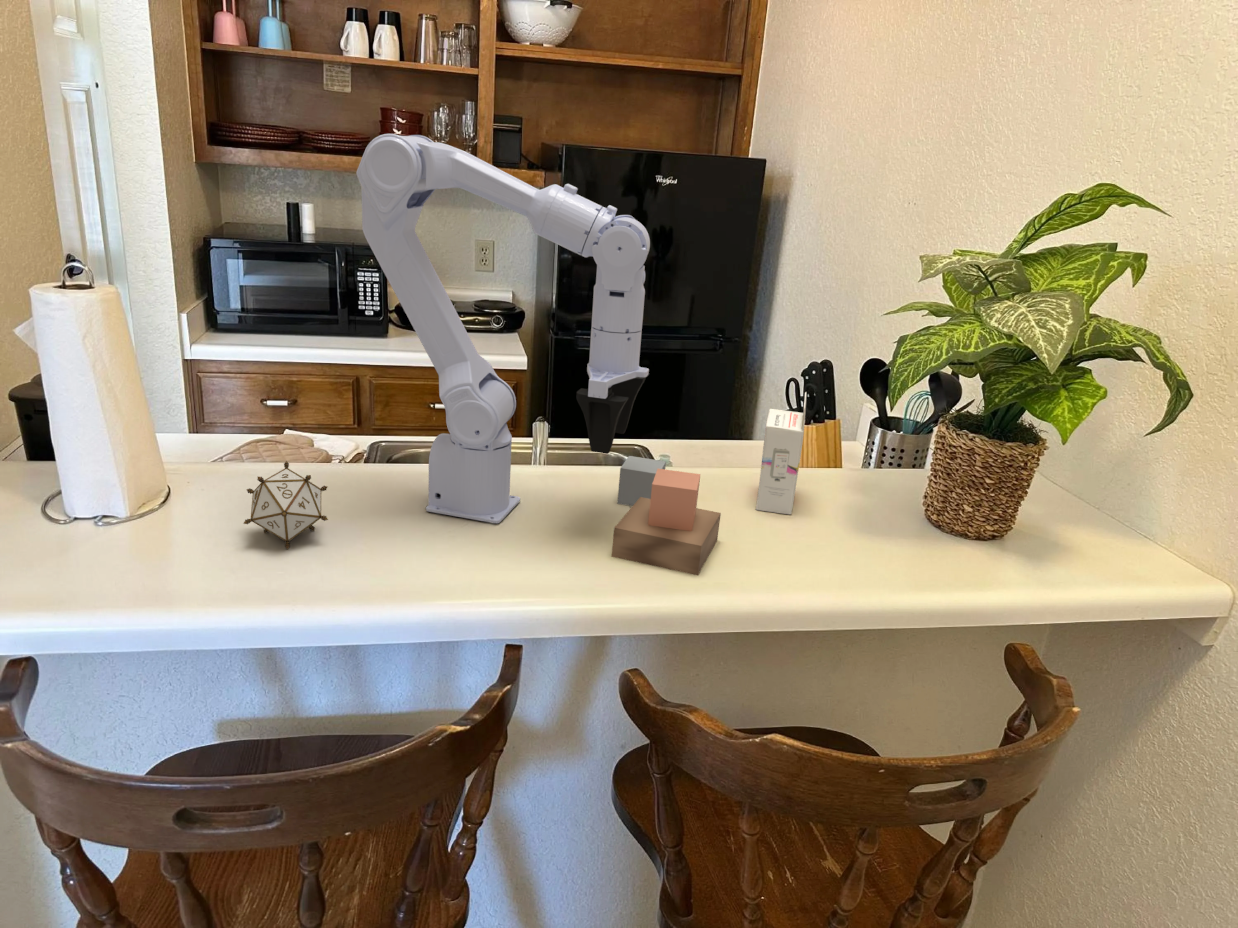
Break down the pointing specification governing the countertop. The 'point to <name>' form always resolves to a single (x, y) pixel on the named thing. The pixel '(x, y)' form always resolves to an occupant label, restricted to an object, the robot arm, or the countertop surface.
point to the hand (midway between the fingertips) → (608, 441)
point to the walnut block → (665, 540)
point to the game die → (286, 504)
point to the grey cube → (637, 479)
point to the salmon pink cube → (674, 499)
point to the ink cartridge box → (780, 460)
